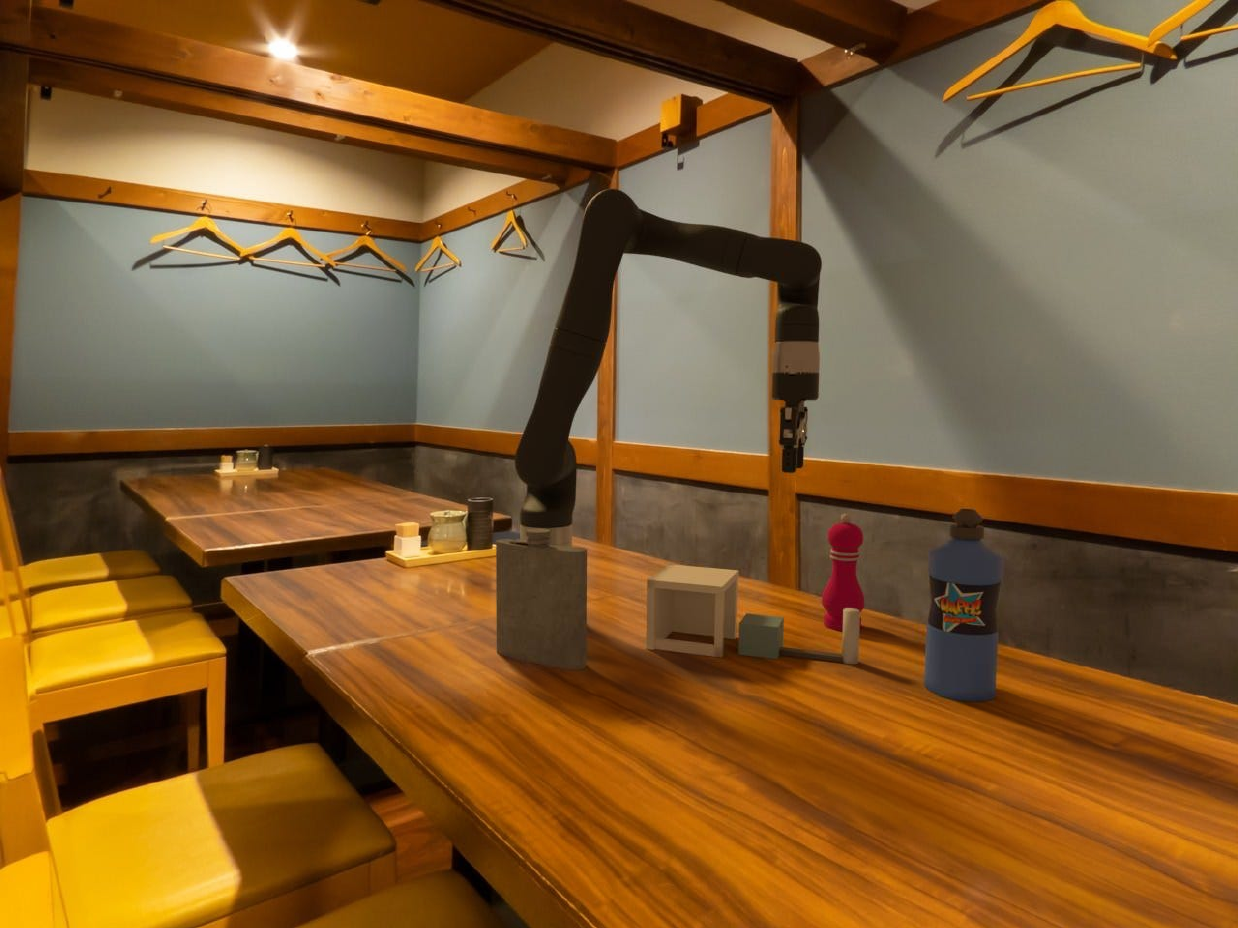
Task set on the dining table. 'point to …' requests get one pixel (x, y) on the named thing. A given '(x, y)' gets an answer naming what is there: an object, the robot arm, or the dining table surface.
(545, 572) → the hip flask
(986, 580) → the water bottle
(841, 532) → the pepper mill
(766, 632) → the grey block with handle
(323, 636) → the dining table surface
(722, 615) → the shelf
